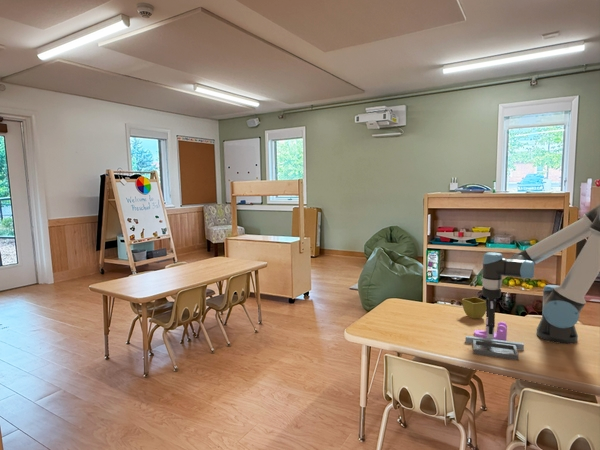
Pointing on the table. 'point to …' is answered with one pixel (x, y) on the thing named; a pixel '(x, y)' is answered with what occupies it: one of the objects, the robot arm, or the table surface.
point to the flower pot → (474, 307)
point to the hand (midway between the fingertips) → (489, 336)
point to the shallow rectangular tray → (495, 350)
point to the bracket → (499, 335)
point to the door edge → (518, 345)
